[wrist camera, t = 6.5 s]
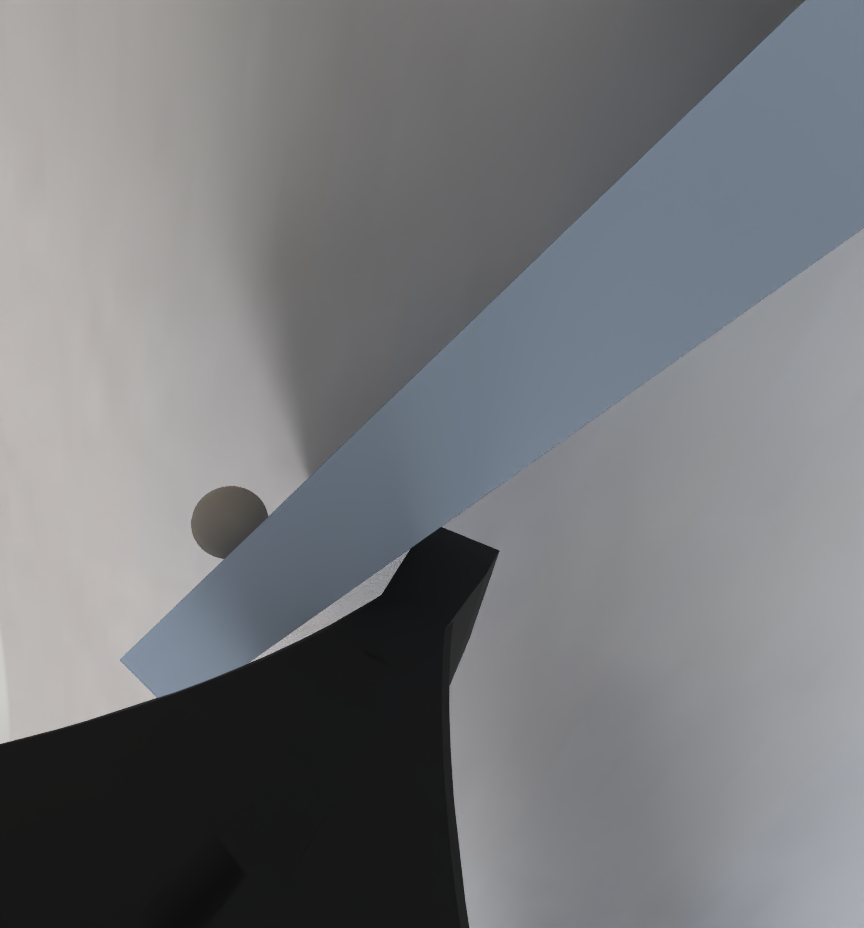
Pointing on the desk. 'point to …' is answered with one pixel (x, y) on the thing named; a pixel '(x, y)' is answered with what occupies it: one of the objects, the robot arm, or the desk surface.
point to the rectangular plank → (552, 344)
